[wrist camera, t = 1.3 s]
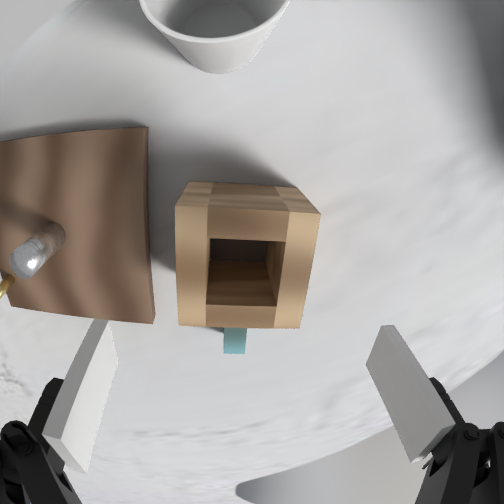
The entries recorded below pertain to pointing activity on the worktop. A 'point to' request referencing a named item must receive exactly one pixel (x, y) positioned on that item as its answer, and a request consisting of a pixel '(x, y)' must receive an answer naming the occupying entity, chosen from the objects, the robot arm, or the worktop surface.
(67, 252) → the base board
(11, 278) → the dowel
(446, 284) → the worktop surface
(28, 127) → the worktop surface
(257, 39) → the mug
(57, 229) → the post
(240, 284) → the hollow wooden frame
